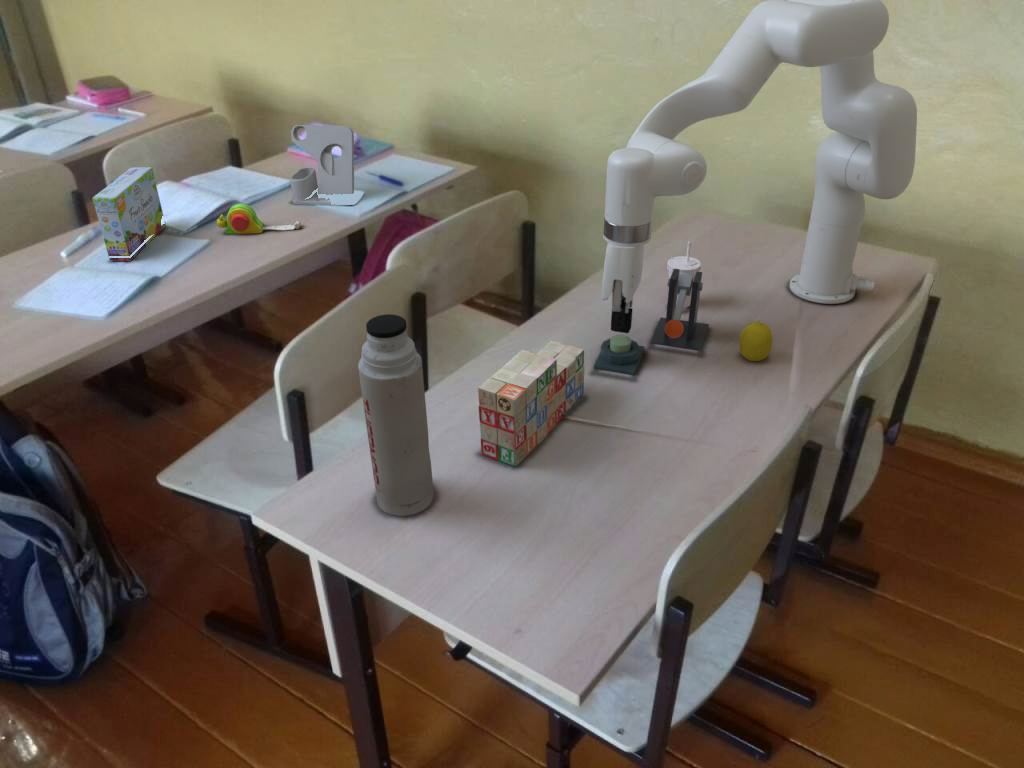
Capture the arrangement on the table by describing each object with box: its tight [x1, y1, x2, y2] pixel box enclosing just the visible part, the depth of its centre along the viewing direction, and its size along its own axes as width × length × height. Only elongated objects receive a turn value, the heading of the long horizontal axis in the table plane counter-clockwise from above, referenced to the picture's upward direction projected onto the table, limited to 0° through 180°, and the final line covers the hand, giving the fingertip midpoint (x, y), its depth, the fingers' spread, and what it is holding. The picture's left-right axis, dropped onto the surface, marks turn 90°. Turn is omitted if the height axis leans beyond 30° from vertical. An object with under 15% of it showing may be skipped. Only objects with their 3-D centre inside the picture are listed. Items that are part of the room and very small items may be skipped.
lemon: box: [738, 320, 774, 362], centre depth 142 cm, size 6×6×8 cm
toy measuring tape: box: [216, 203, 302, 235], centre depth 197 cm, size 6×19×7 cm, turn 96°
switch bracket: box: [649, 269, 709, 352], centre depth 148 cm, size 10×9×13 cm
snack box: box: [91, 166, 167, 262], centre depth 190 cm, size 21×6×15 cm, turn 179°
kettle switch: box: [665, 274, 693, 338], centre depth 143 cm, size 13×3×3 cm, turn 161°
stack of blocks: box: [477, 340, 585, 468], centre depth 126 cm, size 21×6×12 cm, turn 148°
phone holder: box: [289, 124, 355, 207], centre depth 212 cm, size 17×10×18 cm, turn 81°
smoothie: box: [666, 240, 702, 309], centre depth 158 cm, size 6×6×14 cm
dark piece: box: [593, 337, 646, 376], centre depth 144 cm, size 9×7×4 cm
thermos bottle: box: [357, 313, 435, 517], centre depth 108 cm, size 8×8×28 cm
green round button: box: [609, 334, 632, 353], centre depth 143 cm, size 4×4×2 cm
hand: (620, 329), depth 141 cm, fingers closed
